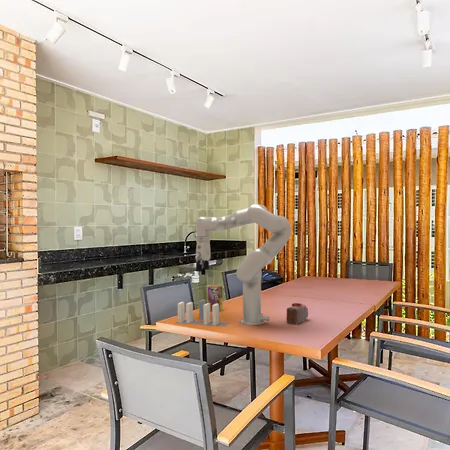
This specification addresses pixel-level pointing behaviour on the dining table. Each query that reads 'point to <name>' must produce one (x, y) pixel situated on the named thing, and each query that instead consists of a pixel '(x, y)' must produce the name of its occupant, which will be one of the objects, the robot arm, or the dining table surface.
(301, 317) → the food item
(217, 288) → the candy box
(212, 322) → the mat
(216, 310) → the domino
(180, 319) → the domino
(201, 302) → the slate domino
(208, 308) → the domino
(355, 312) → the dining table surface
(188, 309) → the domino
